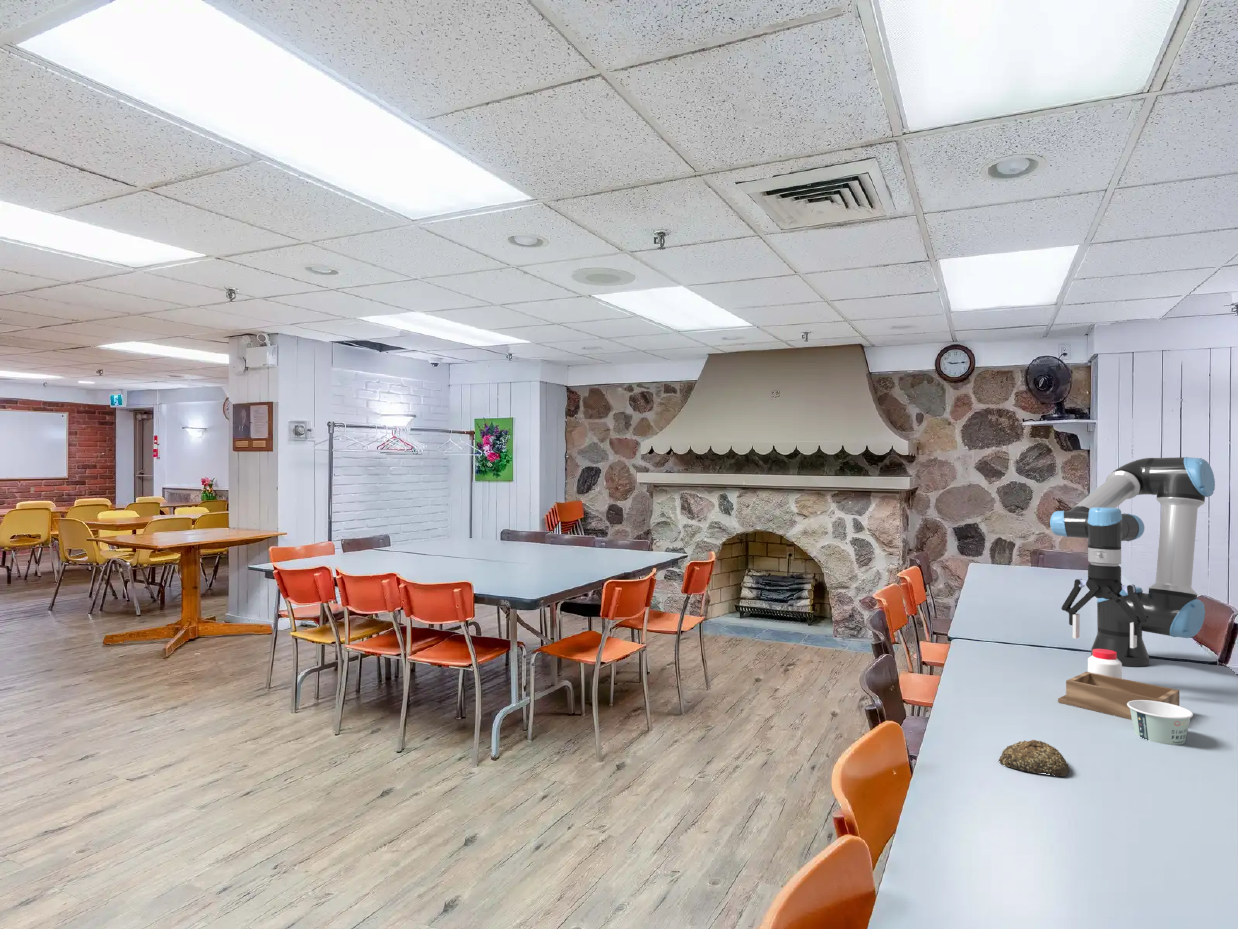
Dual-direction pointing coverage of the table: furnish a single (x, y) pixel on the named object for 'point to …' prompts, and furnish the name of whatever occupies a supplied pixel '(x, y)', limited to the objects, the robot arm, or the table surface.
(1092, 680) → the tray
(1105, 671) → the pill bottle
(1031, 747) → the bread roll
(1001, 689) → the table surface
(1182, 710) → the food container
